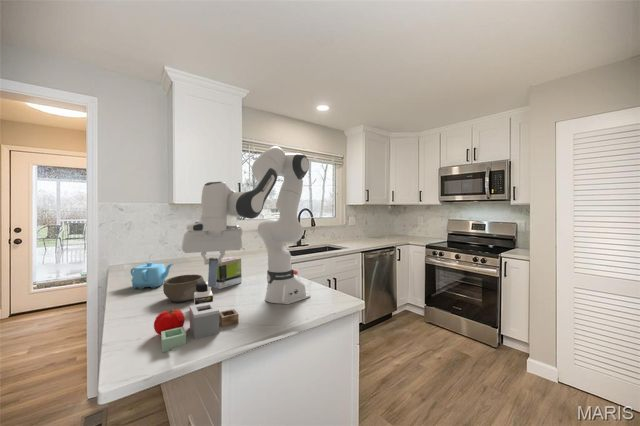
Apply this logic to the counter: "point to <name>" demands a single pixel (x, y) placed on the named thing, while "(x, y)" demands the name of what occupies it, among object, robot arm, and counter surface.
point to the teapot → (149, 275)
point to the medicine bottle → (203, 293)
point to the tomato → (169, 320)
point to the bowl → (181, 287)
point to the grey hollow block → (204, 319)
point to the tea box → (228, 272)
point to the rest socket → (172, 338)
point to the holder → (228, 318)
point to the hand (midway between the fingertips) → (212, 263)
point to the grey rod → (212, 272)
